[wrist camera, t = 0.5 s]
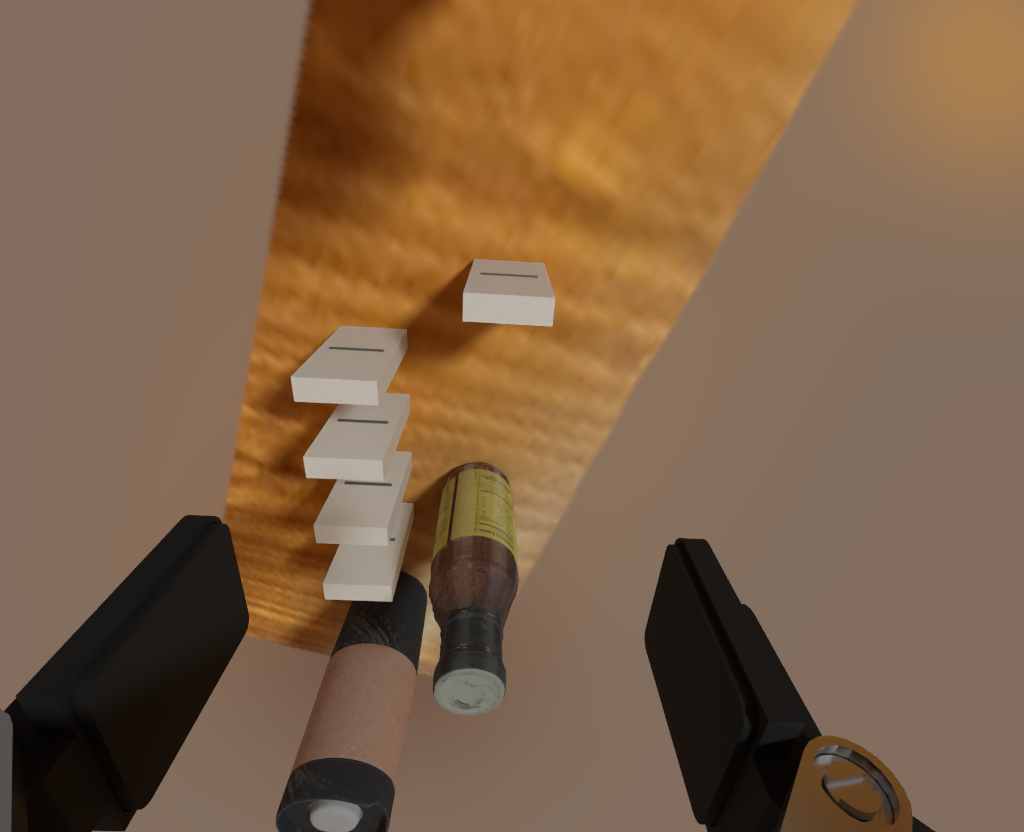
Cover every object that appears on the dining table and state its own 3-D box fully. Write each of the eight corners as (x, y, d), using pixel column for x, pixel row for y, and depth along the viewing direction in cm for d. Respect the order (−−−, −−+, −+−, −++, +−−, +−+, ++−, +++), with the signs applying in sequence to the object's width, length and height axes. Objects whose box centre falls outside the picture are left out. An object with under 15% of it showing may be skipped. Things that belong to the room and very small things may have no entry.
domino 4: (358, 500, 46) (322, 582, 37) (413, 502, 46) (391, 585, 37) (359, 514, 46) (325, 599, 38) (414, 517, 47) (392, 601, 38)
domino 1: (340, 324, 38) (290, 375, 29) (406, 328, 38) (376, 380, 29) (342, 345, 39) (294, 401, 30) (407, 349, 39) (378, 405, 30)
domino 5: (474, 257, 36) (463, 291, 27) (543, 262, 36) (555, 296, 27) (473, 281, 37) (462, 321, 28) (541, 285, 37) (552, 326, 28)
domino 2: (347, 390, 41) (302, 455, 32) (409, 393, 41) (382, 459, 32) (349, 408, 41) (306, 477, 33) (410, 411, 42) (383, 481, 33)
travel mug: (345, 608, 52) (261, 843, 34) (367, 557, 49) (287, 787, 31) (415, 629, 54) (370, 864, 36) (441, 581, 50) (404, 813, 33)
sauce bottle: (468, 524, 47) (444, 745, 29) (430, 477, 45) (379, 687, 27) (528, 495, 46) (542, 710, 28) (492, 444, 43) (482, 644, 25)
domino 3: (353, 448, 43) (313, 524, 34) (411, 451, 43) (386, 527, 34) (355, 464, 44) (316, 542, 35) (412, 467, 44) (388, 545, 35)
